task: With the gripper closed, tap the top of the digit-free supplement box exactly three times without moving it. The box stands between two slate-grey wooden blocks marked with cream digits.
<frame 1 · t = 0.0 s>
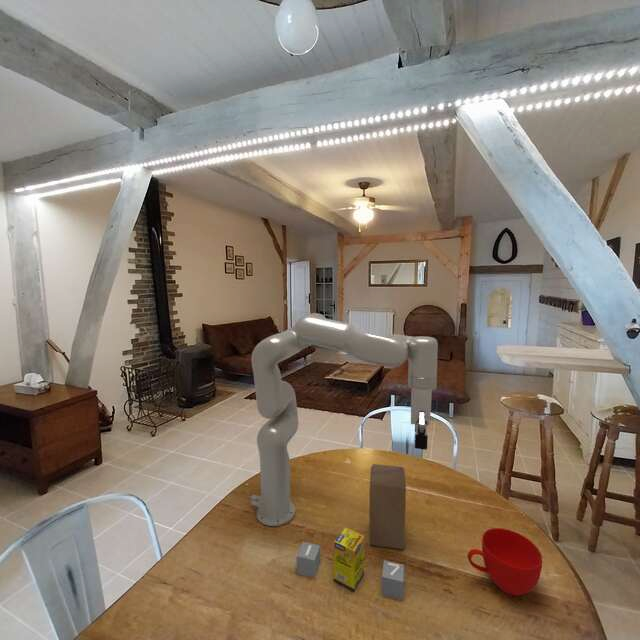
hand: (420, 440, 92), 31 cm above the table, fingers open, 9 cm apart
block: (386, 536, 98), on the table
ceramic cup: (500, 584, 82), on the table
slate block 7: (392, 589, 81), on the table
supplement box: (349, 578, 84), on the table
slate block 1: (308, 568, 87), on the table
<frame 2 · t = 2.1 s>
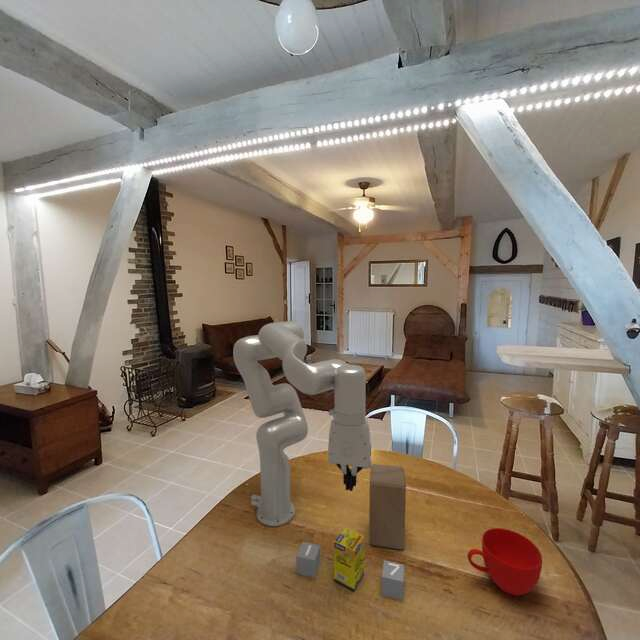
hand: (350, 487, 82), 25 cm above the table, fingers closed
nothing on the table moved.
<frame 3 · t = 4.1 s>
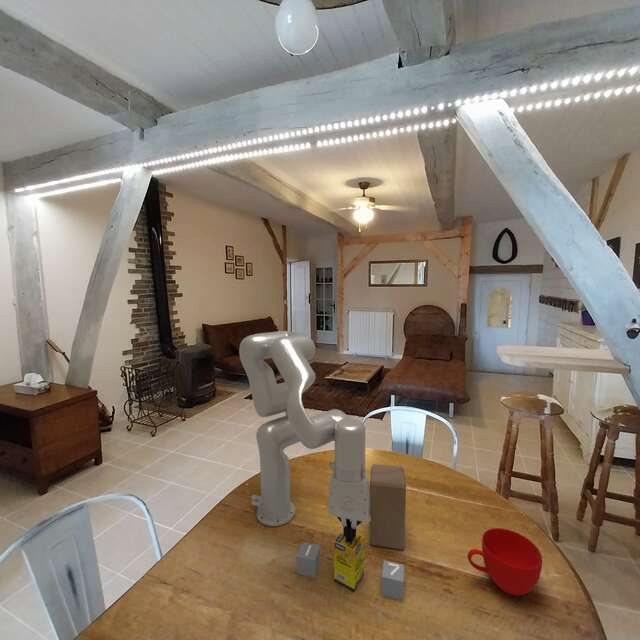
hand: (349, 538, 83), 11 cm above the table, fingers closed
supplement box: (349, 578, 84), on the table, touching gripper
everything else where it was.
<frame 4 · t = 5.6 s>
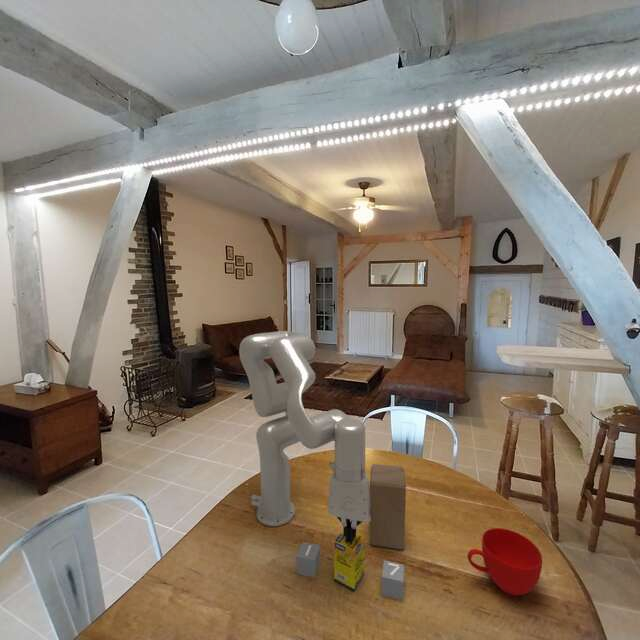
hand: (349, 538, 83), 11 cm above the table, fingers closed
nothing on the table moved.
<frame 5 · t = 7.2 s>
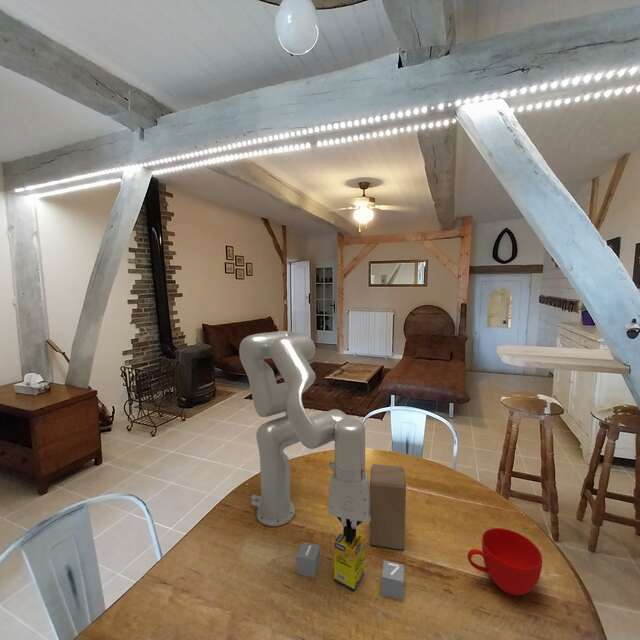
hand: (349, 538, 83), 11 cm above the table, fingers closed
nothing on the table moved.
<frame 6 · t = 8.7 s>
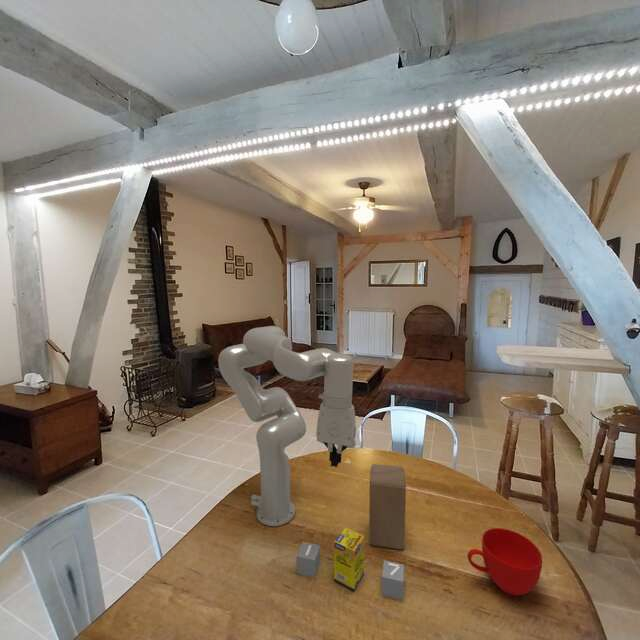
hand: (335, 464, 90), 26 cm above the table, fingers closed
supplement box: (349, 578, 84), on the table
everything else where it was.
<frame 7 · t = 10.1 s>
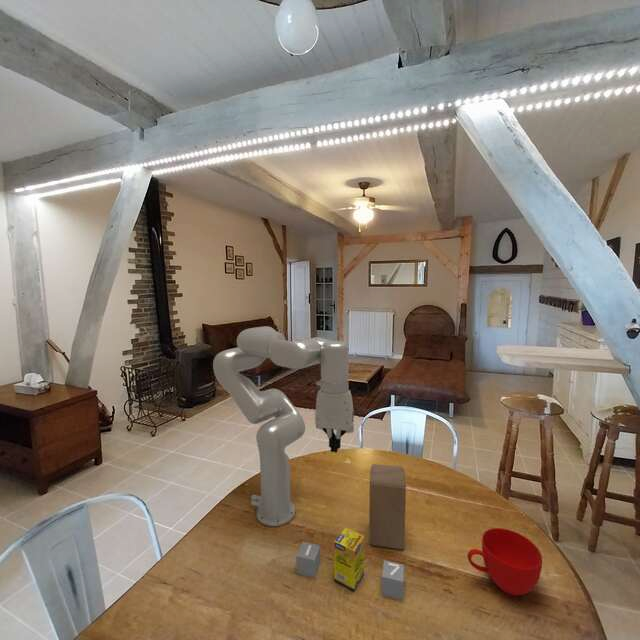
hand: (334, 449, 92), 29 cm above the table, fingers closed
nothing on the table moved.
at the end: supplement box moved 0.2 cm from its start; supplement box tilted 0°; slate block 7 moved 0.1 cm from its start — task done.
